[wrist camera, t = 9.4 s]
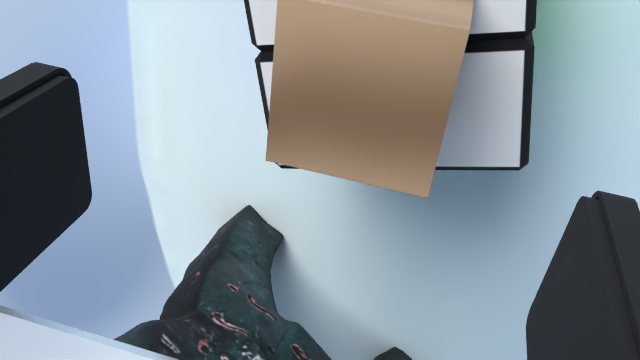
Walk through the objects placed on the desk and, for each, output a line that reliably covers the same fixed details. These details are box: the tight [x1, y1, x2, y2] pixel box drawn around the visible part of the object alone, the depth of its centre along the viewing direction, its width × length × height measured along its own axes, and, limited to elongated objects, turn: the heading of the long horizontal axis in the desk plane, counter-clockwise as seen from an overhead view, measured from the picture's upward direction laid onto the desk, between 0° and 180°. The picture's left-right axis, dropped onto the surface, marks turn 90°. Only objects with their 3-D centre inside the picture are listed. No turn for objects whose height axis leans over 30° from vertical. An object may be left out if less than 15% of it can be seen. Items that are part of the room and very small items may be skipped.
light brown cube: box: [266, 0, 474, 198], centre depth 18 cm, size 5×5×5 cm
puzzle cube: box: [244, 0, 537, 170], centre depth 24 cm, size 10×10×10 cm
